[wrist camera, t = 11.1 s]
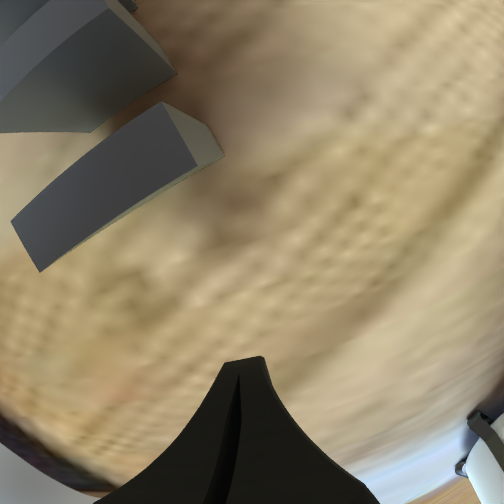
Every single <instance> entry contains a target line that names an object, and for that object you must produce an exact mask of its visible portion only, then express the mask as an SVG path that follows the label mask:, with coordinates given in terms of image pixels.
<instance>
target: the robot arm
mask: <svg viewBox="0 0 504 504" xmlns="http://www.w3.org/2000/svg"><path fill="white" fill-rule="evenodd" d="M93 504H380V503H379V501H378V500H377V499H376V498H375V496H374V495H373V494H372V493H371V492H370V490H369V489H368V488H367V487H366V485H365V484H364V483H363V482H361V481H360V480H358V479H357V478H355V477H354V476H352V475H351V474H350V473H348V472H347V471H345V470H344V469H343V468H342V467H340V466H339V465H338V464H337V463H335V462H334V461H333V460H332V459H331V458H329V457H328V456H327V455H326V454H325V453H324V452H323V451H322V450H321V449H320V448H319V447H318V446H317V445H316V444H315V443H314V442H313V441H312V440H311V439H310V438H309V437H308V436H307V435H306V434H305V433H304V431H303V430H302V429H301V428H300V427H299V426H298V424H297V423H296V422H295V421H294V419H293V418H292V417H291V415H290V414H289V412H288V411H287V409H286V408H285V406H284V405H283V403H282V402H281V400H280V399H279V397H278V395H277V393H276V391H275V390H274V388H273V386H272V382H271V379H270V376H269V372H268V369H267V366H266V362H265V359H264V357H262V356H256V357H251V358H246V359H241V360H236V361H231V362H225V363H224V364H223V366H222V368H221V370H220V372H219V373H218V375H217V377H216V379H215V381H214V383H213V385H212V386H211V388H210V390H209V392H208V393H207V395H206V397H205V398H204V400H203V402H202V403H201V405H200V407H199V408H198V410H197V411H196V412H195V414H194V415H193V417H192V418H191V420H190V421H189V423H188V424H187V425H186V427H185V428H184V429H183V431H182V432H181V433H180V434H179V436H178V437H177V438H176V439H175V440H174V441H173V442H172V444H171V445H170V446H169V447H168V448H167V449H166V450H165V451H164V452H163V453H162V454H161V455H160V456H159V457H158V458H157V459H156V460H154V461H153V462H152V463H151V464H150V465H149V466H148V467H147V468H146V469H144V470H143V471H142V472H141V473H139V474H138V475H137V476H135V477H134V478H133V479H131V480H130V481H129V482H127V483H126V484H124V485H123V486H121V487H120V488H118V489H117V490H115V491H113V492H112V493H110V494H108V495H106V496H105V497H103V498H101V499H100V500H98V501H96V502H94V503H93Z"/></svg>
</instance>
